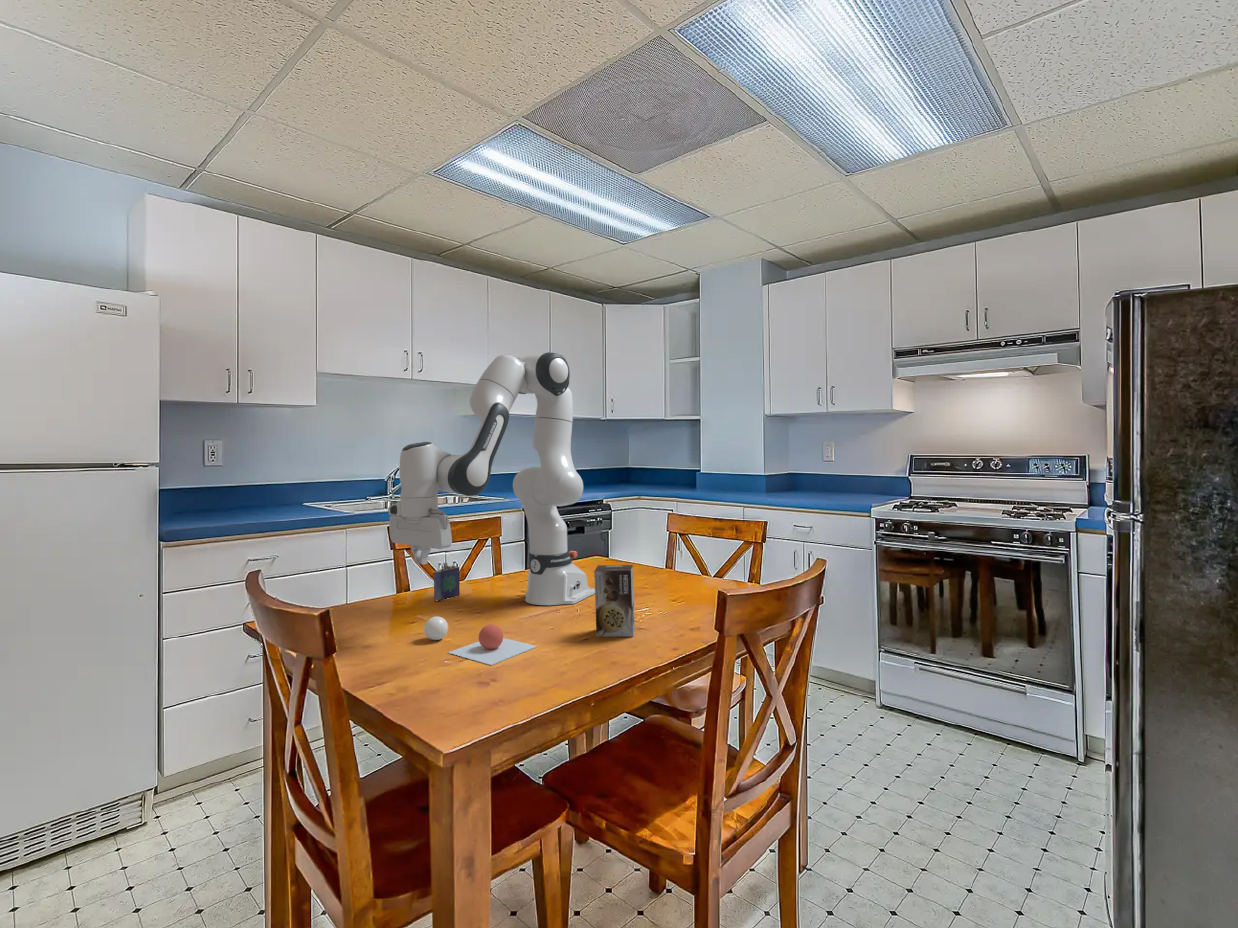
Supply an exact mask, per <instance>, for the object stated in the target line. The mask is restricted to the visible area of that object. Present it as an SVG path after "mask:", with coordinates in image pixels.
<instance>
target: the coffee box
mask: <svg viewBox="0 0 1238 928" xmlns="http://www.w3.org/2000/svg"><path fill="white" fill-rule="evenodd" d="M593 573H594V575H593V576H594V579H593V580H594V589H595V593H594V600H595V601H594V602H595V637H597V638H599V637H603V638H604V637H605V638H606V637H621V638H622V637H624V638H625V637H634V635H635V630H636V626H635V625H636V624H635V595H634V594H635V593H634V591H635V590H634V588H635V587H634V565H633V564H611V565H610V564H609V565H608V564H607V565H605V564H603V565H600V564H599V565H596V567H595V569H594V571H593Z"/></svg>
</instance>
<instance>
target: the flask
mask: <svg viewBox="0 0 1238 928" xmlns="http://www.w3.org/2000/svg"><path fill="white" fill-rule="evenodd" d="M460 586H461V585H460V567H459V566H458V565H457V566H456V565H450V566H449V564H448V563H447V562H444V563H442V569H438V570H437V569H436V570H434V571H433V592H434V593H433V600H438V602H440V601H439V600H443V599H447V598H450V599H452V598H451V597H454V598H456V597H455V596H457V597H460V596H459V595H460V594H461V593H460ZM447 600H448V599H447ZM443 601H444V600H443Z"/></svg>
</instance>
